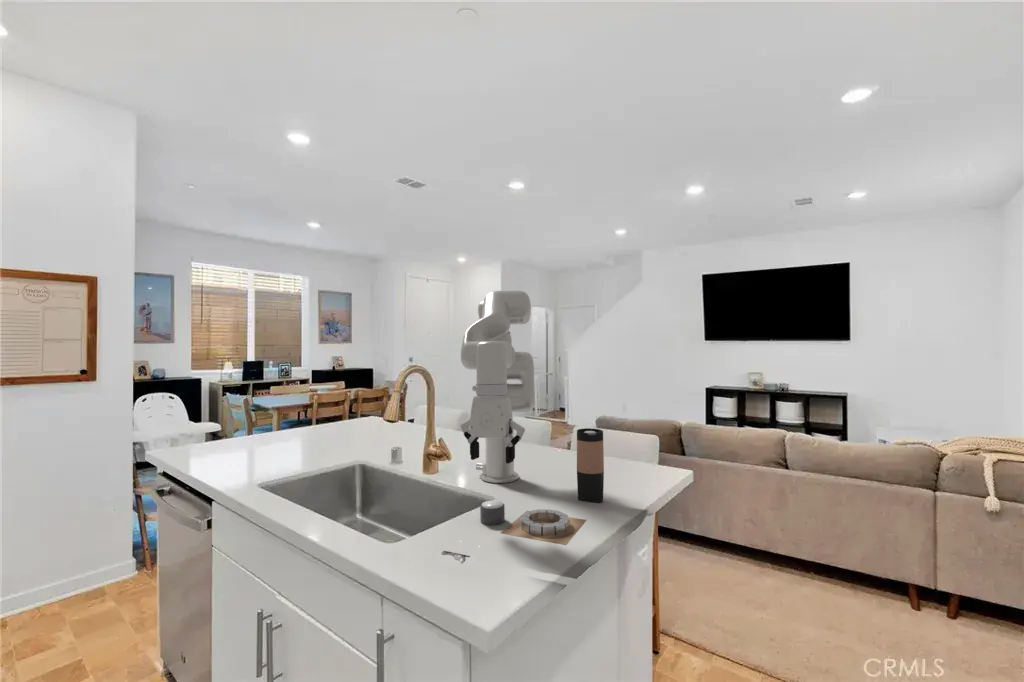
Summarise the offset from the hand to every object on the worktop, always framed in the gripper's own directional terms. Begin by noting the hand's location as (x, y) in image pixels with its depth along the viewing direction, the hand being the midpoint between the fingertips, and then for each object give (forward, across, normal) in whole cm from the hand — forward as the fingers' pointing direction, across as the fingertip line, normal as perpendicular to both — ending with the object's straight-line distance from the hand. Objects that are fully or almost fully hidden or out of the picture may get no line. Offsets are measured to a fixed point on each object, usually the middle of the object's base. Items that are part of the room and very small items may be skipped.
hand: (492, 460), depth 116 cm
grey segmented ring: (+15, +13, +3) cm, 20 cm away
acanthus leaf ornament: (+17, 0, -16) cm, 23 cm away
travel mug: (+16, +17, +29) cm, 37 cm away
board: (+16, +13, +3) cm, 21 cm away
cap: (+16, 0, +1) cm, 16 cm away
